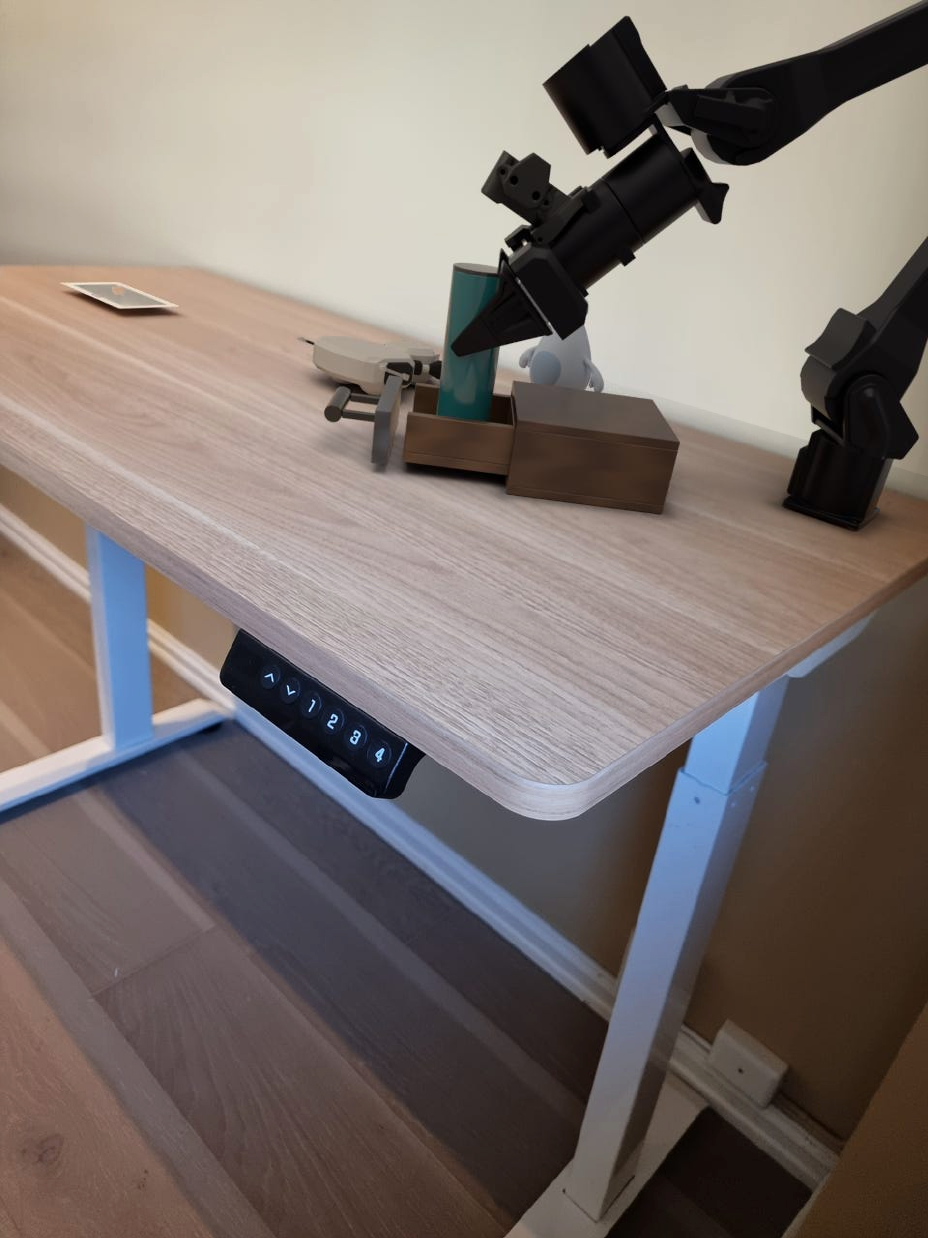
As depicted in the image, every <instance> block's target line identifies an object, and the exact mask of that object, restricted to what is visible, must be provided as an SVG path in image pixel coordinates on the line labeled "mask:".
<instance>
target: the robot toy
mask: <svg viewBox="0 0 928 1238" xmlns="http://www.w3.org/2000/svg"><path fill="white" fill-rule="evenodd" d="M296 339H297V340H298V341H299V342H302V343H306V344H310V345H312V346H313V352H312V363H313V365H314V366H315V367H316V368H317V369H318V370H319V371H321V372H322V373H325V374H326V375H329V377H330V378H331V379H332V380H333V381H335V382H337V383H338V384H344V385H351V384H356V385H358V386H359V387H360V389H361V390H362V391H363V392H365V393H366V394H367V395H370V396H377V397H381V395H382V392H383V390H384V387H385V385H386V382H387V380H388V377H389V375H391V376H398V377H403V380H402V389H407V387H409V385H413V386H415V385H416V383H423V384H427V382H429V381H431V379H433V378H434V379H436V380H438V381H440V375H441V366H442V359H440V357H441V355H440V353H439V352H437V351H436V352H435V351H434V350H433V349H432V347H430V346H428V345H425V344H422V343H419V342H415V341H412V340H411V341H410V340H389V341H388V340H387V342H385V343H384V344H381V343H378V342H374V341H371V340H367V339H362V338H357V337H352V336H332V335H331V336H328V335H321V336H319V337H318V338H317V339H316V340H314V341H312V340H309V339H307V338H305V337H303V336H300V335H299V336H297V337H296Z"/></svg>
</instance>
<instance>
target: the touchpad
mask: <svg viewBox="0 0 928 1238" xmlns="http://www.w3.org/2000/svg"><path fill="white" fill-rule="evenodd" d="M60 284H61V285H63V286H66V287H68V288H71V289H72V290H75V291H77V292H79V293H82V294H85V295H87V296H89V297H91V298H93V299H96V300H99V301H101V302H103V303H105V304H107V305H110V306H112V307H114V308H116V309H121V310H122V309H148V308H150V309H151V308H178V307H180V306H179V305H177V304H175V303H172V302H169V301H167V300H165V299H163V298H160V297H157V296H154V295H152V294H149V293H147V292H145V291H142V290H140V289H137V288H134V287H132V286H129V285H127V284H126V283H125V284H124V283H122V282H119V281H95V282H93V281H91V282H88V281H87V282H83V281H82V282H60Z"/></svg>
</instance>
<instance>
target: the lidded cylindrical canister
mask: <svg viewBox="0 0 928 1238" xmlns="http://www.w3.org/2000/svg"><path fill="white" fill-rule="evenodd" d="M500 271H501V268H499V267H498V266H494V265H488V264H481V263H472V262H455V263H453V264H452V269H451V278H450V287H449V297H448V304H447V313H446V314H447V315H446V323H445V330H444V331H445V332H444V341H443V350H442V359H441V361H442V366H441V375H440V380H439V384H438V386H439V393H438V402H437V410H436V415H438V416H446V417H453V418H461V419H468V420H476V421H483V422H489V421H490V414H491V406H492V399H493V393H495V385H496V379H497V377H496V376H497V371H498V365H499V364H498V363H499V357H500V351H501V346H500V347H496V348H492V349H488V350H485V351H481V352H477V353H473V354H469V355H466V356H462V357H458V356H456V354H455V353H454V352H453V350H452V349H451V343H452V342H453V341H454V340H455V339H456V338H457V336H458V335H459V334H460V333H461V332H462V331H463V330H464V328H465V327H466V326H467V325H468V324H469V323H470V322H471V321H472V319H473V318H474V317H475V316H476V315H477V314H478V313H479V312H480V310H481V309H482V308H483V307H484V306H485V305H486V304H487V303H488V301H489V300H490V299H491V298H492V297H493V296H494V295H495V293H496V292H497V290H498V285H499V278H500Z"/></svg>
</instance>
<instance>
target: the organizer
mask: <svg viewBox="0 0 928 1238" xmlns="http://www.w3.org/2000/svg"><path fill="white" fill-rule="evenodd" d="M510 395H512V396H513V403H514V411H515V420H516V430H515V437H514V443H513V449H512V455H511V461H510V468H509V474H508V475H504V483H505V484H504V485H505V494H507V495H514V496H522V497H527V498H537V499H542V500H543V499H544V500H552V501H560V502H567V503H574V504H582V505H591V506H597V507H603V508H604V507H605V508H611V509H612V508H613V509H621V510H629V511H635V512H643V513H651V514H660V515H662V514H663V512H664V508H665V503H666V499H667V496H668V492H669V488H670V483H671V481H672V480H671V479H672V476H673V472H674V468H675V465H676V461H677V456H678V453H679V447H680V444H681V440H680V439H679V438H678V436H677V435H676V433H675V432H674V430H673V428H672V427H671V426H670V424H669V422H668V421H667V419H666V418H665V417H664V415H663V413H662V412H661V410H660V408H659V407H658V406H657V404H656V402H655V401H654V399H652V398H646V397H645V398H643V397H637V396H631V395H624V394H623V395H622V394H615V393H608V392H595V391H594V390H586V389H585V390H579V389H572V388H565V387H557V386H550V385H543V384H535V383H531V382H528V381H521V380H520V381H519V380H512V383H511V391H510Z"/></svg>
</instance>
